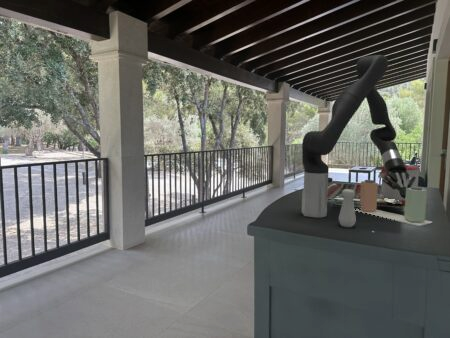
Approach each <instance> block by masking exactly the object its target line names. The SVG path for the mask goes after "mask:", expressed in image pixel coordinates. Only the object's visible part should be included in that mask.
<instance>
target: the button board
mask: <svg viewBox="0 0 450 338" xmlns="http://www.w3.org/2000/svg"><path fill="white" fill-rule="evenodd" d="M355 209H356V210H355V212H356V211H358V212H357V213H360V212H362V214H365V213H367V214H366V215H369V214H371V215H370V216H373V215H375V216H374V217H377V216H379V217H378V218H382V217H383V218H384V219H386V218H387V219H386V220H390V219H391V220H390V221H394V220H395V221H396V222H399V223H403V224H407V225H410V226H411V225H413V226H416V227H423V226H425V225H429V224H433V221H430V220H426V219H425V222H414V221H409V220H407V219H405V218H404V214H398V213H393V212H388V211H384V210H380V209H376V211H364V210H362V209H361V210H359V209H358V208H355ZM395 221H394V222H395Z"/></svg>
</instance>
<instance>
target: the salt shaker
mask: <svg viewBox="0 0 450 338" xmlns="http://www.w3.org/2000/svg"><path fill="white" fill-rule="evenodd" d="M355 195H356V191H355V190H354V189H350V188H346V189H345V188H344V189H343V190H342V191H341V196H343V198H342V199H343V200H342V203H341V207H340V210H339V215H338V221H339V224H340V226H341V227H344V228H353V227H354V225H355V223H356V221H357V216H356V211H355V209H356V208H355V202H354V197H356V196H355Z"/></svg>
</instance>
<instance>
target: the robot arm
mask: <svg viewBox="0 0 450 338" xmlns="http://www.w3.org/2000/svg"><path fill="white" fill-rule="evenodd" d="M388 68H389V60H388V58H387V57H386V56H385V55H383V54H375V55H374V54H373V55H367V56H362V57H360V58H359V59H358V60H357V63H356V65H355V71H356V75H357V77H358V79H357V80H355V82H353V83H351V84H350V85H349V86H346V87H345V88H344V89H343V90H342V91H340V93H339V94H338V96H337V98H336V99H335V100H334V102H333V104H332V106H331V107H332V108H331V118H330V120H329V122H328V124H326V126H325V128H324V129H323V130H318V131H317V130H312V131H308V132H307V133H305V135H304V136H303V139H302V144H301V146H302V147H301V152H302V155H301V156H302V157H301V159H302V165H303V173H304V174H303V189H302V190H301V214H302V215H303V217H309V218H326V217H327V213H328V190H329V189H328V188H329V186H328V185H329V168H330V167H329V165H328V164H326V163H325V162H324V161H323V159H322V156H326V155H327V156H328V155H329V154H330V153H331V152H332V151H333V150H334V149H335V147H336V144H338V143H337V142H338V141H339V139H340V138H341V136H342V134H343V132H344V130H345V128H346V127H347V125H348V124H349V122H350V121H351V119H352V118H353V117H354V115H355V114H356V112H357V111H358V109H360V107H361V105H362V103H363V102H364V101H365V99H366V101H367V104H368V108H369V113H370V118H371V119H370V120H371V123H372V124H373V125H376V126H380V127H378V128H374V129H372V130H371V131H370V135H369V136H370V137H369V139H370V141H371V142H372V143H373V144H374V145H375V146H376V148H377V149H378V151H379V153H380V157H381V159H382V165H383V166H384V167H385V170H386V173H387V176H385V178H384V179H383V182H385V183H386V184H387V185H389V186H390V187H391V188H393V189H394V190H395V189H397V190H398V191H399V193H400V195H401V197H402V198H405V197H406V188H410V187H411V186H412V184H413V182H414V181H415V179H416V177H414V176H413V177H411V176H409V174H408V173H407V171H406V167H405V164H406V163H405V162H404V159H403V157H402V155H401V153H400V151H399V149H398V146H397V143H396V142H394V141H395V140H396V138H397V131H396V130H395V127H394V126H393V124H392V122H391V120H390V117H389V111H388V110H389V109H388V106H387V102H386V100H385V99H384V97H383V96H382V95H381V93H380V92H379V91H378V90H377V88H376V87H375V86H376V85H377V84H378V83H379V82H380V80H382V78H383V77H384V76H385V75H386V73H387V71H388ZM382 125H383V126H382ZM381 126H382V127H381ZM404 163H405V164H404ZM407 179H408V181H409V184H408V185H407ZM392 184H393V185H392Z"/></svg>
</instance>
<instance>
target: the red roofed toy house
mask: <svg viewBox="0 0 450 338" xmlns="http://www.w3.org/2000/svg"><path fill="white" fill-rule="evenodd" d="M404 164H405V167H406V171H407V173H408V174H409V176H411V177H413V176H414V177H416V179H415V181H414V182H413V184H412V186H416V187H419V175H420V167H417V166H407V164H406V163H405V162H404ZM385 176H387V173H386V170H385V167H384V165H383V166H381V173H379V174H378V176H377V178H378V179H381V191H382V196H383V197H384V198H388V199H395V200H399V201H401V202H402V205H404V206H405V198H402V197H401V195H400V193H399V191H398V190H397V189H395V190H394V189H393V188H391V187H390V186H389V185H387V184H386V183H385V182H383V179H384V178H385ZM408 184H409V181H408V179H407V185H408ZM392 185H393V184H392ZM412 186H411V187H412ZM411 187H410V188H411ZM384 198H383V199H384Z"/></svg>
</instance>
